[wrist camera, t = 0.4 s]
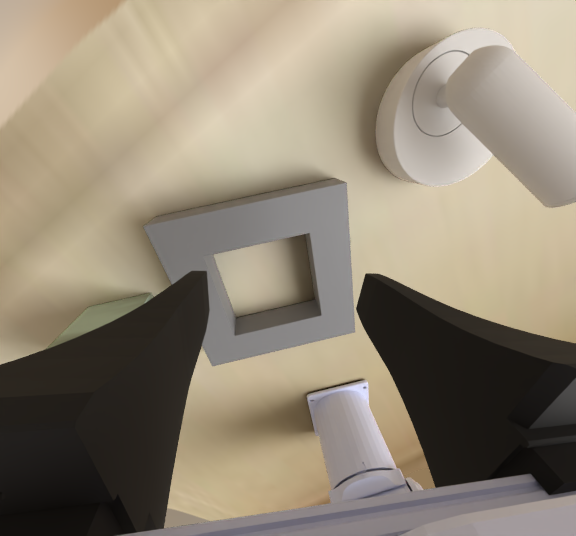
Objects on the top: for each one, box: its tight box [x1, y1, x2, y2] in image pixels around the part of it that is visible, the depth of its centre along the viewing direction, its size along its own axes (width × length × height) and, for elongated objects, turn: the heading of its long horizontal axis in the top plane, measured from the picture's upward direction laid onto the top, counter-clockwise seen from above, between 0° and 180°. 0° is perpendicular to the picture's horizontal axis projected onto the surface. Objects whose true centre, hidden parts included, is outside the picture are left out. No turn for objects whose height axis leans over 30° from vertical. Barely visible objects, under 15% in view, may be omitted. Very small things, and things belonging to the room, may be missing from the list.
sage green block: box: [46, 293, 154, 349], centre depth 19 cm, size 6×6×8 cm
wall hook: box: [375, 28, 576, 208], centre depth 14 cm, size 9×10×10 cm
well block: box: [143, 178, 355, 366], centre depth 20 cm, size 14×14×2 cm
